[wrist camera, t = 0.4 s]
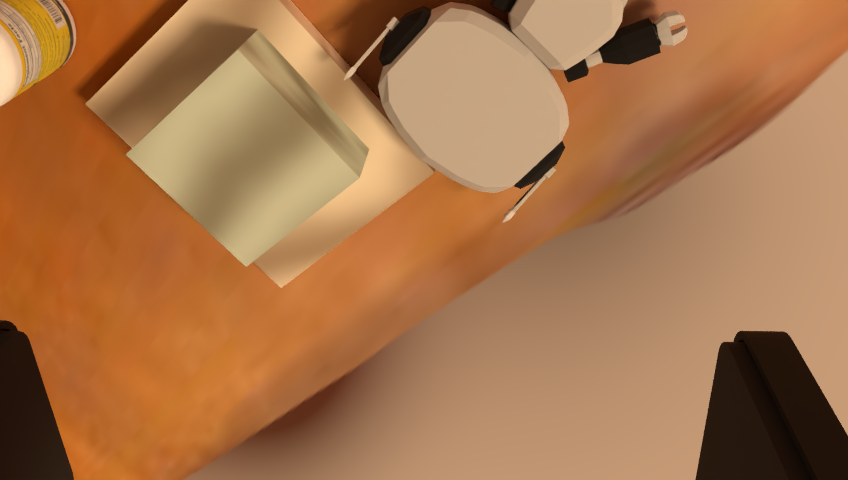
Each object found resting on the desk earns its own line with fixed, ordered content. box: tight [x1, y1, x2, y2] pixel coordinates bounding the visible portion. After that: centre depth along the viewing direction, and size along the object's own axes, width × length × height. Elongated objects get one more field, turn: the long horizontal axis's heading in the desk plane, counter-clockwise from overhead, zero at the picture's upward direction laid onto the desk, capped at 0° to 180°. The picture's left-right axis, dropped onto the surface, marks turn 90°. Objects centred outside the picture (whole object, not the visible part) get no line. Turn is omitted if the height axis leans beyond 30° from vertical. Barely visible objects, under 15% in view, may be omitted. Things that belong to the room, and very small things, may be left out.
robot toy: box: [344, 0, 688, 223], centre depth 42 cm, size 12×4×15 cm
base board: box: [86, 0, 435, 288], centre depth 45 cm, size 16×13×6 cm
